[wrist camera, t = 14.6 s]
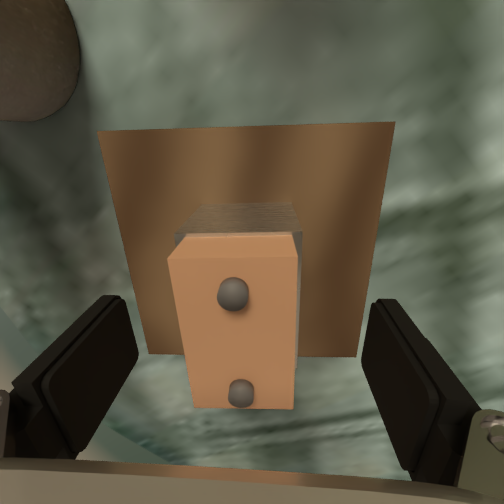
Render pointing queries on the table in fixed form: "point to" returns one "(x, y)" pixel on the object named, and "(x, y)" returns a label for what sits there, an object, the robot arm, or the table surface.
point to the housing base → (247, 229)
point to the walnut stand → (255, 191)
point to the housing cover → (237, 319)
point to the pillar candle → (36, 58)
